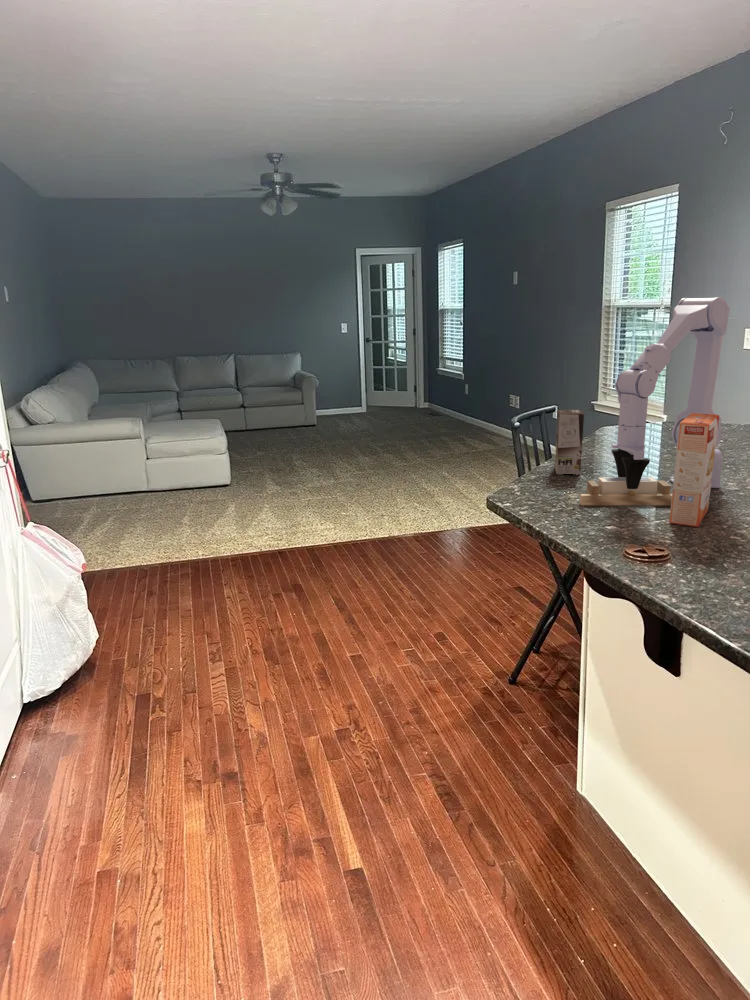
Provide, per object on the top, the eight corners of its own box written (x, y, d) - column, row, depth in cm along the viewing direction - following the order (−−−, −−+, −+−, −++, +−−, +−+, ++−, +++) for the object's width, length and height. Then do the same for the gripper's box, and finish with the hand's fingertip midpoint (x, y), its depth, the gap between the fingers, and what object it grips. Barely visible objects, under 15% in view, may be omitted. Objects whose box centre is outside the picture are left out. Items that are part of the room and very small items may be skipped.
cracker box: (700, 528, 139) (711, 423, 133) (668, 524, 142) (677, 421, 136) (710, 510, 150) (721, 413, 145) (680, 507, 153) (689, 411, 148)
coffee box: (581, 475, 183) (584, 413, 179) (555, 474, 185) (558, 413, 180) (578, 467, 192) (581, 408, 188) (554, 467, 193) (557, 408, 189)
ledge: (673, 497, 161) (675, 480, 160) (683, 505, 155) (684, 487, 154) (575, 497, 163) (576, 480, 162) (581, 505, 156) (582, 487, 155)
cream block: (650, 498, 162) (652, 476, 160) (655, 502, 158) (657, 480, 156) (597, 498, 162) (598, 477, 161) (601, 503, 159) (602, 481, 157)
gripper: (605, 419, 163) (602, 476, 166) (622, 430, 149) (617, 492, 152) (637, 419, 162) (632, 476, 166) (656, 430, 148) (651, 492, 152)
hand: (627, 484), depth 159 cm, fingers open, 7 cm apart
